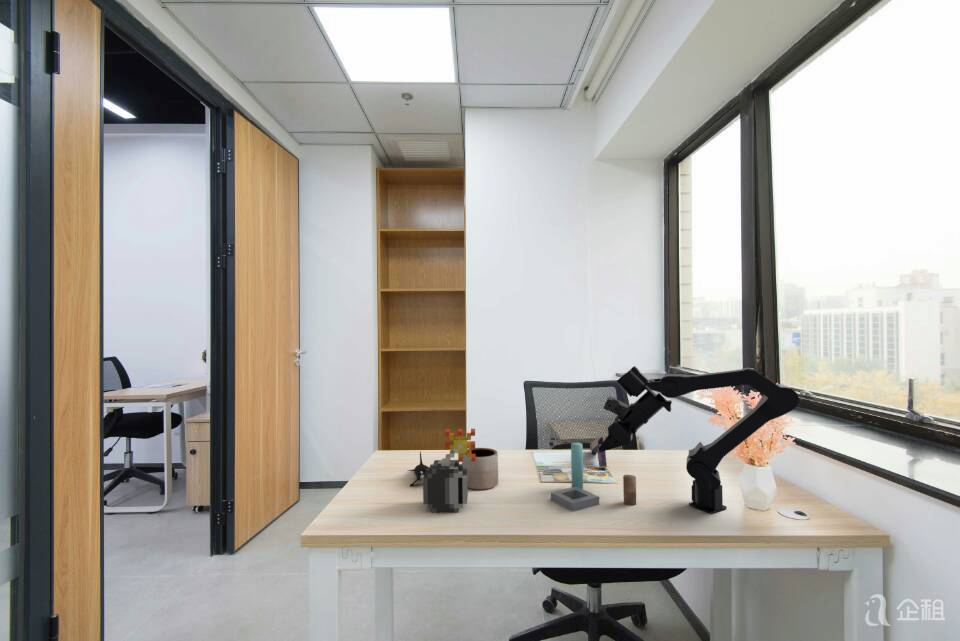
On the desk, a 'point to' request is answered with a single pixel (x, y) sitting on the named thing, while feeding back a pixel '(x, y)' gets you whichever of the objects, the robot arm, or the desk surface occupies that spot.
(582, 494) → the socket block
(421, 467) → the toy
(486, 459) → the planter
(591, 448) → the toy gun
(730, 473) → the desk surface
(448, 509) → the bomb
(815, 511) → the desk surface
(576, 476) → the teal pin
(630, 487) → the walnut pin
